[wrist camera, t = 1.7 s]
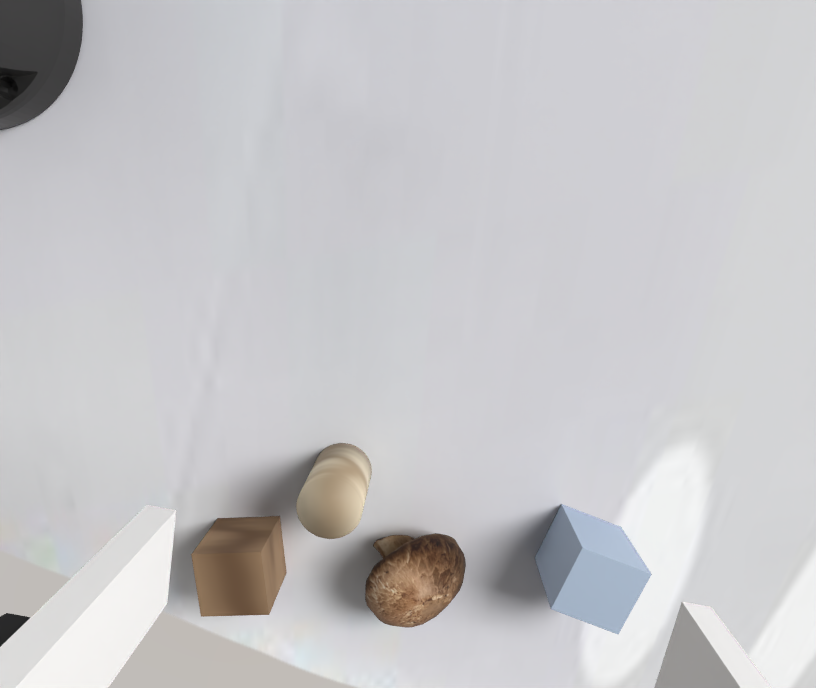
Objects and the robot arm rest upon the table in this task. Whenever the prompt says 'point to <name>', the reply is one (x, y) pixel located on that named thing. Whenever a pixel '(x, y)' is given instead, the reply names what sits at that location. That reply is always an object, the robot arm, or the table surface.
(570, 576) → the slate block
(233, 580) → the walnut block
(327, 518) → the birch cylinder
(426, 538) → the mushroom
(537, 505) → the table surface
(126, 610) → the robot arm
